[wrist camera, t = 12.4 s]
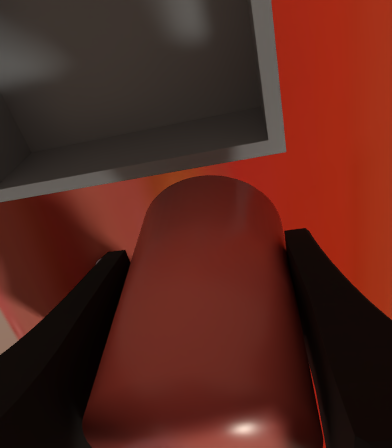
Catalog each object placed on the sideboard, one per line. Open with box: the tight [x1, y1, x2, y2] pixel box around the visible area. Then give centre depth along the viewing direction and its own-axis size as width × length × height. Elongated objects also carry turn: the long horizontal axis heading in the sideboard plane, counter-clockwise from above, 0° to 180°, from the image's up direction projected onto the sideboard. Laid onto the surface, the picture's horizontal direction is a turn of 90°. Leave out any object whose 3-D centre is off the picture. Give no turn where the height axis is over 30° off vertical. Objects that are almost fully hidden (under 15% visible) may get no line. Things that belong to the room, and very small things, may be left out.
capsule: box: [82, 176, 323, 448], centre depth 11 cm, size 5×5×7 cm
